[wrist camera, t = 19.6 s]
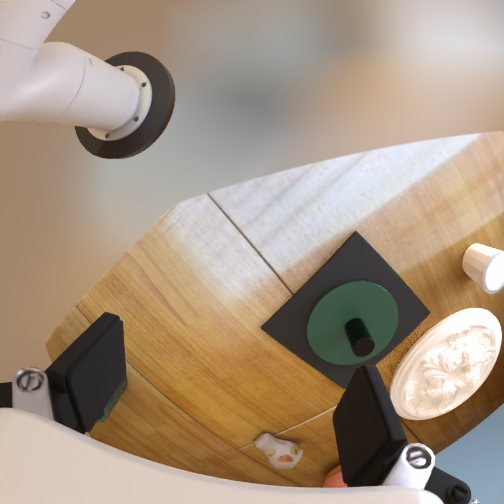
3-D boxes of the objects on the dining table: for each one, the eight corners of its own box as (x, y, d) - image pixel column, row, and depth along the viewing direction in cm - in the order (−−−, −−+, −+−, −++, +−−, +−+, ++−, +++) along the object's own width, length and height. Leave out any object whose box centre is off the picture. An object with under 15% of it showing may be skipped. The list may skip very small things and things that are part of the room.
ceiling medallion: (361, 401, 47) (364, 412, 44) (457, 283, 39) (467, 290, 36) (438, 425, 49) (442, 434, 46) (514, 336, 41) (522, 343, 38)
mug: (265, 422, 50) (289, 459, 41) (291, 426, 55) (315, 457, 47) (241, 442, 50) (262, 479, 42) (269, 445, 55) (290, 476, 47)
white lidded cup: (478, 231, 36) (503, 241, 30) (491, 260, 37) (514, 273, 31) (453, 258, 38) (477, 273, 31) (467, 286, 39) (489, 302, 32)
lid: (286, 328, 42) (287, 354, 36) (356, 259, 39) (371, 275, 32) (347, 374, 44) (355, 400, 38) (411, 316, 40) (429, 337, 34)
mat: (260, 326, 43) (260, 328, 43) (355, 230, 38) (356, 231, 38) (344, 387, 46) (344, 389, 45) (429, 311, 41) (430, 312, 40)
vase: (384, 453, 52) (399, 508, 35) (355, 479, 55) (363, 529, 39) (338, 450, 51) (347, 512, 34) (311, 476, 55) (314, 531, 38)
